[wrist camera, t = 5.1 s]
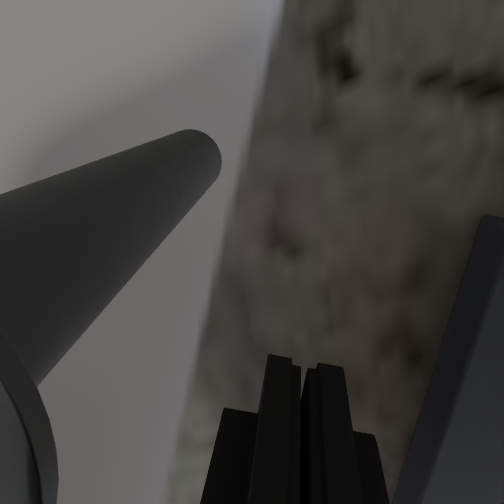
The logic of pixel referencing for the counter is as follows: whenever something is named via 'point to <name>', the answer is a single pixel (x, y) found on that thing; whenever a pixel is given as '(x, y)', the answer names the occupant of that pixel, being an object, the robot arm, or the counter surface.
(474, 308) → the charcoal pad
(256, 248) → the counter surface
